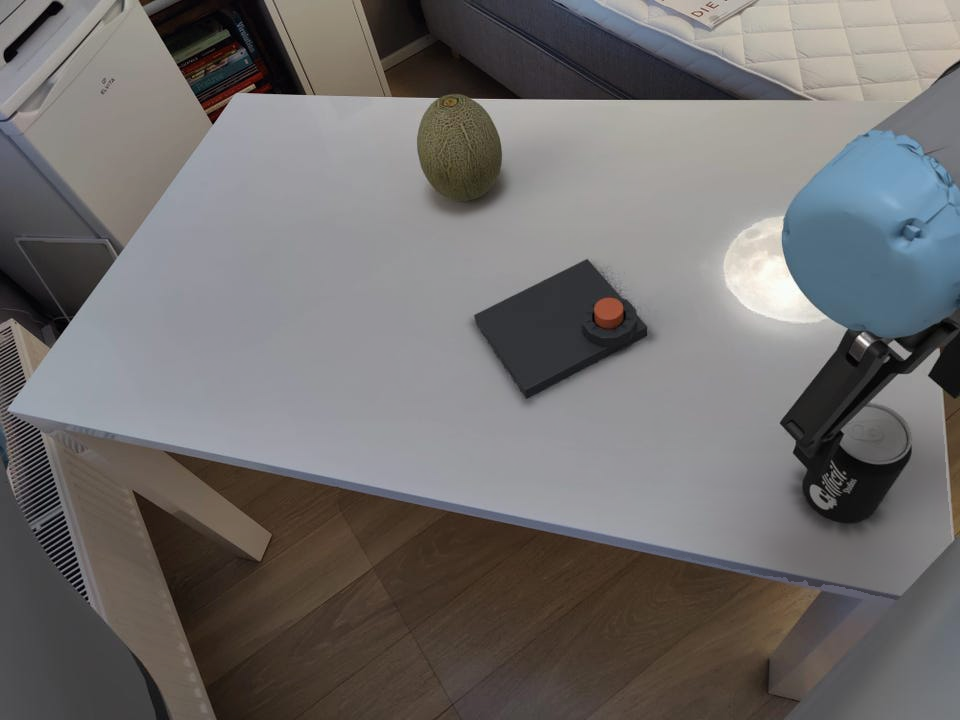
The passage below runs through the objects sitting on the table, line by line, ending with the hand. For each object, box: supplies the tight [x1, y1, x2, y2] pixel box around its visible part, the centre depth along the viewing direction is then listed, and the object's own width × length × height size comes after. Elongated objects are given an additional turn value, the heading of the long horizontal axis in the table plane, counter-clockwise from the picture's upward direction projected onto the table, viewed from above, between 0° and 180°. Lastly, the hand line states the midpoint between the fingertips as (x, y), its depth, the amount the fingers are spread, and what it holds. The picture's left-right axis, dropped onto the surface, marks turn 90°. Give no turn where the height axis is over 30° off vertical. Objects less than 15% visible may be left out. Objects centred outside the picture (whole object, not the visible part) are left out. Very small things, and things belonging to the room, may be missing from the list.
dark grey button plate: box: [473, 258, 648, 399], centre depth 83 cm, size 16×14×4 cm
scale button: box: [594, 298, 623, 329], centre depth 79 cm, size 3×3×2 cm
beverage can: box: [801, 401, 913, 524], centre depth 62 cm, size 7×7×12 cm
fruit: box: [416, 93, 503, 202], centre depth 96 cm, size 11×11×15 cm
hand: (877, 424), depth 57 cm, fingers open, 13 cm apart
